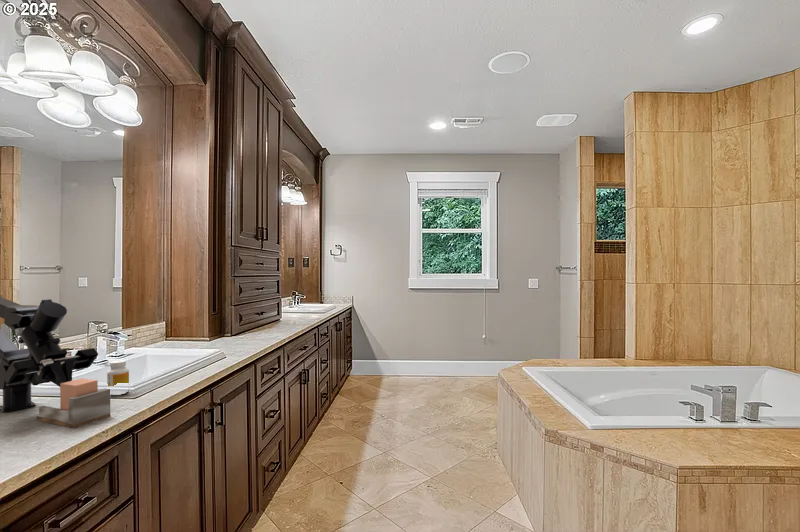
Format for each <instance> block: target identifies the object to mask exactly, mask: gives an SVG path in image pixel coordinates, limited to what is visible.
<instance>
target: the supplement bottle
mask: <svg viewBox="0 0 800 532" xmlns="http://www.w3.org/2000/svg"><path fill="white" fill-rule="evenodd" d="M126 365H127V361H126V360H125V359H124V360H123V359H120V360H114V361H110V362H109V368H110V369H108V370H107V373H106V375H107V376H106V378H107V380H106V384H108V386H114V385H116V384H117V383H129V384H130V369H129V367H126Z"/></svg>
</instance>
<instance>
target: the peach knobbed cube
mask: <svg viewBox="0 0 800 532" xmlns="http://www.w3.org/2000/svg"><path fill="white" fill-rule="evenodd" d="M98 386H99V385H98V380H97V379H96V380H95V379H91V378H90V379H88V378H77V379H72V381H69V382H65V383H60V387H59V389H60V391H59V395H60V398H59V401H60V402H59V403H60V405H59V406H60V408H59V409H63V410H69V406H68V398H71V397H75V396H79V395H83V394H86V393H90V392H94V391H98V390H99V389H98Z"/></svg>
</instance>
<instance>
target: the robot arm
mask: <svg viewBox="0 0 800 532" xmlns="http://www.w3.org/2000/svg"><path fill="white" fill-rule="evenodd" d="M67 311H68V310H67V308H66V306H63V305H62V304H60V303H58V302H54V301H53V300H52V299H51V298H49V299H48V298H47V299H42V300H41V301H40V303H39V305H35V304H33V305H31V304H28V305H27V304H25V305H24V304H20V303H17V302H15V301H12V300H9V299H7V298H5V297H2V296H1V295H0V318H1V319H4V322H3V324H4V325H6V327H8V328H10V329H11V330H21V329H22V331H21V333H20V337H19V338H18V343H19V344H25V346H26V347H27V348H21V349H19V347H18V346H17V345H15V343H14V342H13V341H12V340H11V339H10V338H9V337H8V336H7V334H5V332H4V331H3V330H2V329H1V328H0V390H2V405H0V409H1V410H2V411H1V410H0V411H1V412H3V413H7V412H6V411H9V412H13V410H14V411H17V410H23V409H29V408H31V407H36V405H37V404H36V403H35V402H34V401H33V400H32V386H38V385H41V384H47V383H53V384H54V385H56V386H58V387H59V388H60V383H65V382H69V381H73V370H75V371H79V370H84V369H89V368H90V367H91V366H92V364H94V361H95V360H96V359H97V357H98V356H99V353H98V351H97V350H96V348H94V347H90V348H89V347H88V348H82V349H78V350H77V351H76V353H75V355H72V356H67V354H68V350H67V349H62V347H61V346H60V342H61V339H60V338H59V337H57V338H55V336H54V334H53V333H52V332H54V331H56V330H57V329H58V327H59V326H60V325H61V323H62V321H63V320H64V318H65V316H66V315H67Z"/></svg>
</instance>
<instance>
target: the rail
mask: <svg viewBox="0 0 800 532" xmlns="http://www.w3.org/2000/svg"><path fill="white" fill-rule="evenodd" d="M68 406H69V410H63V409H60V408H58V407H57V408H56V407H53V406H52V407H51V406H45V405H41V406H39V407H38V416H37V417H36V421H37V422H42V423H47V424H52V425H56V426H61V427H67V428H72V429H75V428H79V427H83V426H85V425H88V424H90V422H91V423H94V422H96V420H97V421H100V420H103V419H107V418H110V417H111V396H110V389H107V388H101V389H98V391H94V392H90V393H86V394H83V395H79V396H75V397H71V398H68ZM93 421H94V422H93ZM84 424H85V425H84Z"/></svg>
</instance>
